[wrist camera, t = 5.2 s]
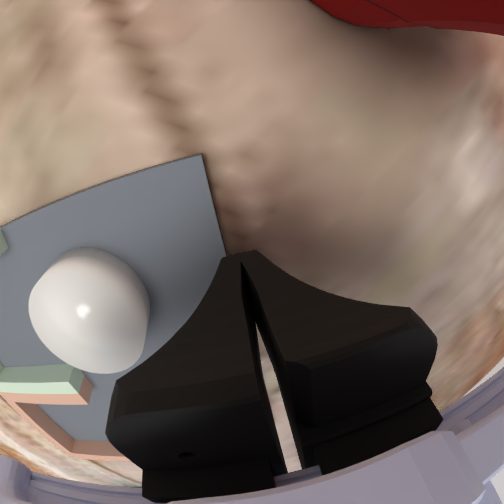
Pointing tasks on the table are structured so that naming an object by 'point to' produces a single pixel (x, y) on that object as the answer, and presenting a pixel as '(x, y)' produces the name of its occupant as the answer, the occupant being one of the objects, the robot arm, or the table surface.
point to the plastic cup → (420, 13)
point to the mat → (124, 247)
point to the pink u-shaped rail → (53, 432)
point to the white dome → (91, 311)
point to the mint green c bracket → (39, 372)
